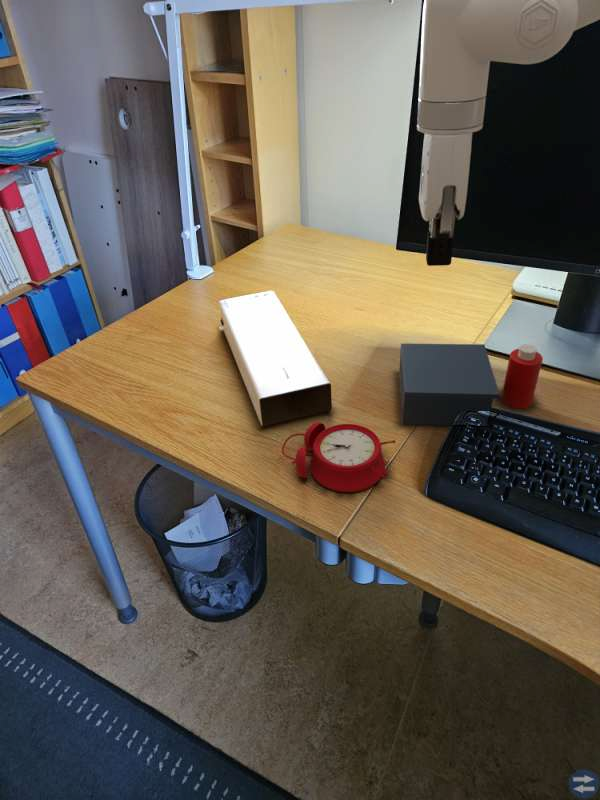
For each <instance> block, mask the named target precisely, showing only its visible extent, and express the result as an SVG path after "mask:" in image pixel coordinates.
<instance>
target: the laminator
mask: <svg viewBox="0 0 600 800" xmlns="http://www.w3.org/2000/svg"><path fill="white" fill-rule="evenodd" d="M218 308H219V316H220V324H221V325H220V326H218V329H219V331H223V333H224V335H225V338H226V340H227V343H228V345H229V349H230V351H231V353H232V354H233V358H234V361H235V363H236V365H237V368H238V370H239V374H240V376H241V379H242V381H243V383H244V386H245V389H246V391H247V395H248V396H249V399H250V401H251V403H252V407H253V409H254V411H255V414H256V416H257V419H258V422H259V424H260V426H261V428H264V427H266V426H270V425H273V424H279V423H282V422H287V421H291V420H294V419H299V418H303V417H308V416H313V415H317V414H321V413H325V412H331V411H332V408H333V407H332V406H333V405H332V384H331V382H330V380H329V379H328V377H327V375H326V374H325V372H324V371H323V369H322V368H321V366H320V364H319V362H317V359H316V357H315V356H314V354H313V352H312V351H311V350H310V348H309V346H308V344H307V343H306V341H305V340H304V338H303V336H302V335H301V333H300V331H299V330H298V328H297V327H296V325H295V324H294V321H293V320H292V319H291V317H290V315H289V313H288V312H287V310H286V308H285V307H284V306H283V304H282V302H281V300H280V299H279V297H278V296H277V294H276V292H275V291H274V290H273V289H271V290H270V289H269V290H265V291H259V292H255V293H249V294H244V295H238V296H233V297H228V298H222V299H218Z"/></svg>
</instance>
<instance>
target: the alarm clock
mask: <svg viewBox="0 0 600 800" xmlns="http://www.w3.org/2000/svg"><path fill="white" fill-rule="evenodd" d="M296 436H297V437H298V436H303V443H304V446H300V447H298V449H297V450H296V453H295V457H293V456H289V455H287V454H286V452H285V450H284V449H285V446H286V444H287V443H288V441H289V440H290V439H292V438H294V437H296ZM395 443H396V440H395V439H392V440H389V441H380V439H379V437H378V435H377V434H376V433H375V432H373V430H371V429H369V428H368V427H365V426H364V425H360V424H356V423H355V424H354V423H340V424H334V425H332V426H329V427H327V428H326V425H325V423H324V422H321V421H316V422H313V423H312V424H310V425H309V426H308V428H307V429H306V430H305V433H294V434H291V435H290V436H288V437H287V438H286V439H285V441H284V442H283V444H282V446H281V453H282V455H283V457H286V458H287V459H290V460H292V461H291V464H295V467H296V471H297V474H298V476H299V478H302V479H307V478H308V469H307V468H308V467H307V457H310V461H309V466H310V472H311V474H312V476H313V478H314V479H315V480H316V482H318V483H319V484H320V485H322V486H323V487H325V488H327V489H330V490H333V491H336V492H341V493H342V492H343V493H354V492H355V493H356V492H360V491H364V490H366V489H369V488H371V487H373V486H374V485H375V484H377V483H378V482H379V481H380V480H381V479H385V478H386V475H387V474H388V473H387V472H388V469H387V468H386V461H385V457H384V455H383V453H382V446H383V445H388V444H395ZM306 451H312V452H313V453H310V454H309V453H308V454H306Z"/></svg>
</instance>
